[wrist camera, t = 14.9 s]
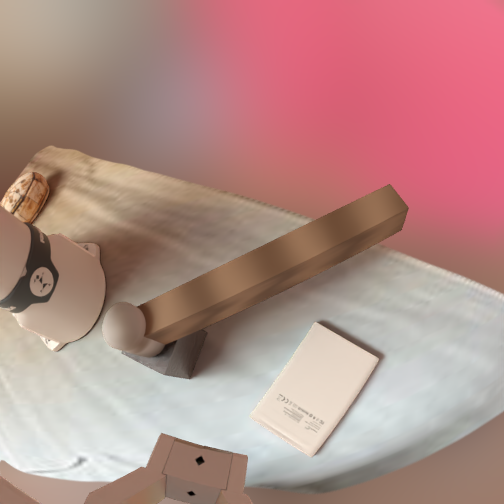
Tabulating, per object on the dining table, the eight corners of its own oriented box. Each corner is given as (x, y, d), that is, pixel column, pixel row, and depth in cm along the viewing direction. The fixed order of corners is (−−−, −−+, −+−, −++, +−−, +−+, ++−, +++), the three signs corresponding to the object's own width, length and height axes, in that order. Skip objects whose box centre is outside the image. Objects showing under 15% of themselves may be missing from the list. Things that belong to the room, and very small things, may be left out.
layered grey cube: (149, 360, 36) (121, 353, 30) (166, 317, 38) (140, 303, 32) (189, 379, 33) (164, 374, 28) (207, 332, 35) (184, 320, 30)
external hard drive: (378, 360, 30) (312, 455, 27) (315, 324, 33) (251, 415, 31) (380, 358, 28) (311, 458, 26) (314, 320, 32) (247, 416, 29)
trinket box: (58, 181, 59) (37, 160, 52) (32, 239, 53) (7, 221, 46) (30, 187, 63) (11, 170, 56) (6, 239, 57) (-16, 223, 50)
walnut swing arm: (137, 363, 29) (106, 355, 24) (128, 325, 31) (99, 312, 27) (405, 235, 28) (415, 207, 23) (381, 202, 30) (386, 172, 26)
